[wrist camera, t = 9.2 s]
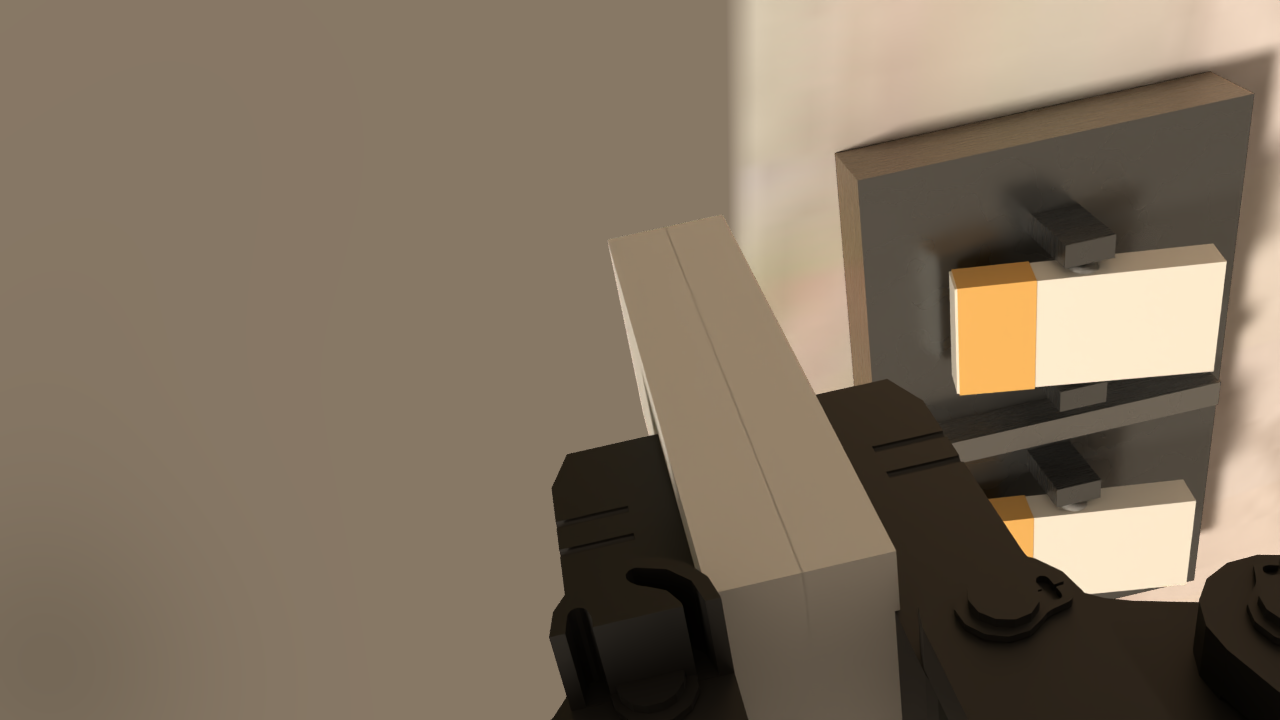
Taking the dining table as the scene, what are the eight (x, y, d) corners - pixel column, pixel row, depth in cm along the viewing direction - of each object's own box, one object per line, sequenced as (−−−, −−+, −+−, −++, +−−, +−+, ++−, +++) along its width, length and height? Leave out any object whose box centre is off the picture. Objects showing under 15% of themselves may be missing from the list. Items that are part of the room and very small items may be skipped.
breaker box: (1210, 71, 46) (1303, 118, 41) (1162, 542, 60) (1228, 621, 55) (834, 153, 46) (882, 211, 41) (872, 609, 60) (912, 695, 54)
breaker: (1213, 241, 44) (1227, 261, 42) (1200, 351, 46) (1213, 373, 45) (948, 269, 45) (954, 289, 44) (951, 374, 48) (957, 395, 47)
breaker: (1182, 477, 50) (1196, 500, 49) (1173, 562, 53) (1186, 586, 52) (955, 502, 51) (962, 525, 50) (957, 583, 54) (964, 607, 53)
